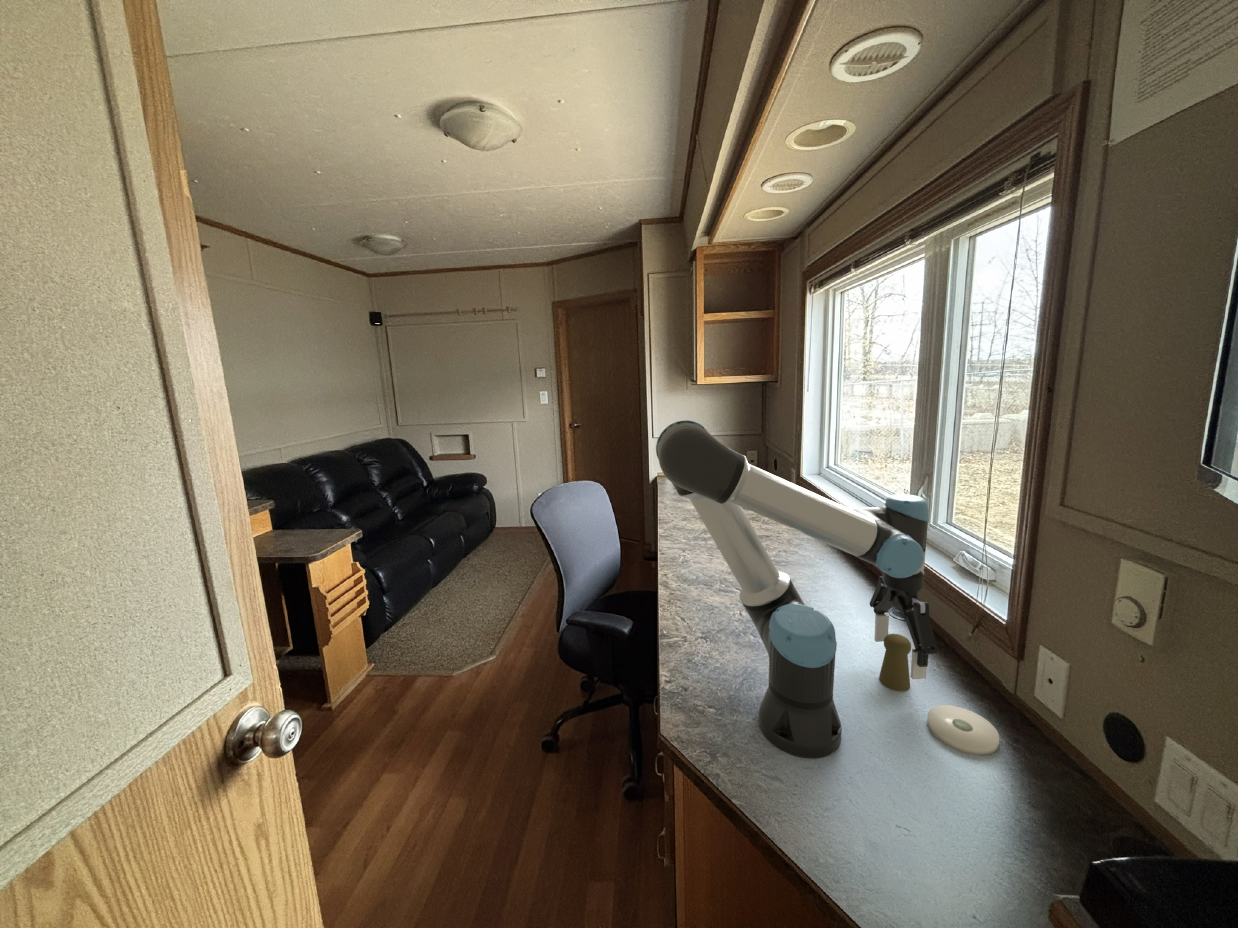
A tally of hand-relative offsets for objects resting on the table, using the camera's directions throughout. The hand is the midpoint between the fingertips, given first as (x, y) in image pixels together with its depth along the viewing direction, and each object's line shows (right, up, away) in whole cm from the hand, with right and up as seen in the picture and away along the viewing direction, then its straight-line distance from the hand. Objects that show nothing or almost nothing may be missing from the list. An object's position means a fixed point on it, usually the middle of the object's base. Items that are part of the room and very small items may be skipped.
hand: (898, 658), depth 103 cm
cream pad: (+4, -8, -14) cm, 17 cm away
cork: (0, -6, +1) cm, 6 cm away
